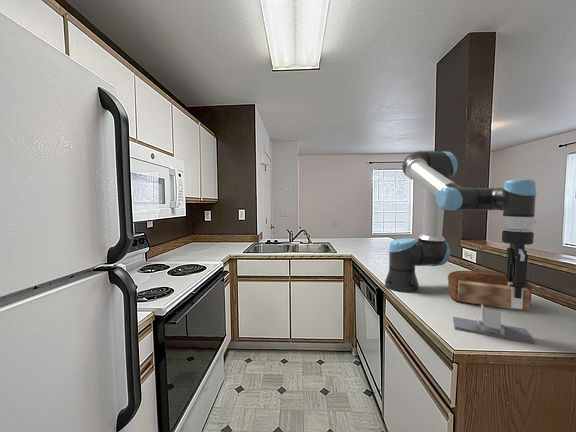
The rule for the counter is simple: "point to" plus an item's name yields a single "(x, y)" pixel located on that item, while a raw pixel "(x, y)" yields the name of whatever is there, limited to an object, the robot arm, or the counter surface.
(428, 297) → the counter surface
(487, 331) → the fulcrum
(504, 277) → the bread
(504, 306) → the walnut beam
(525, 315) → the counter surface
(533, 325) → the counter surface
